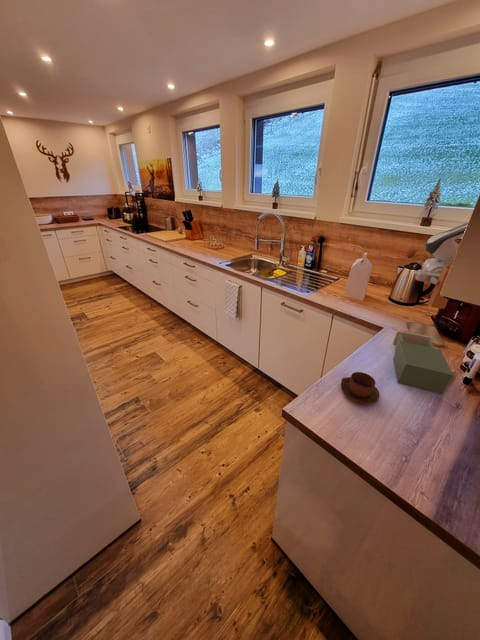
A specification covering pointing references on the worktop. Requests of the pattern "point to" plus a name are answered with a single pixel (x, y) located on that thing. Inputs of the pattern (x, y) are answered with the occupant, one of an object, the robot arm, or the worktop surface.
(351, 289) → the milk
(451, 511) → the worktop surface
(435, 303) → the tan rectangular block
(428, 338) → the drawer
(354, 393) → the cup and saucer
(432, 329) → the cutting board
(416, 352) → the green box
